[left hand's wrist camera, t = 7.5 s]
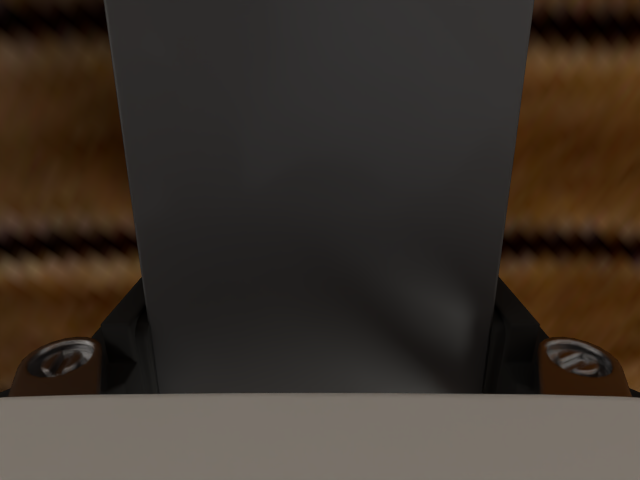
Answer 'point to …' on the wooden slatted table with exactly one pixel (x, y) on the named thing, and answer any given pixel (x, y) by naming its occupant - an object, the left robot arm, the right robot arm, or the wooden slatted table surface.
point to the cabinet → (319, 187)
